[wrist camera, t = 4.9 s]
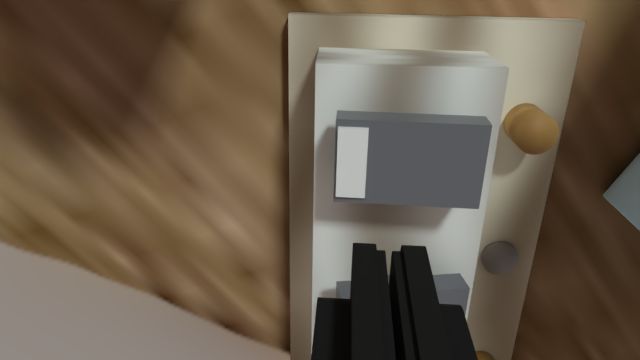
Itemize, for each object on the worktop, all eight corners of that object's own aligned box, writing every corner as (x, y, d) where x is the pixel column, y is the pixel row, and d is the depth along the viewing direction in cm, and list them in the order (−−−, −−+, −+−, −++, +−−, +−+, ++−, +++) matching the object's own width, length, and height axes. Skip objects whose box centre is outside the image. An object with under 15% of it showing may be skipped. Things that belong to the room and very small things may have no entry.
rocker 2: (455, 266, 25) (471, 289, 23) (446, 324, 26) (460, 351, 25) (334, 274, 24) (341, 299, 22) (332, 334, 26) (338, 362, 24)
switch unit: (576, 18, 25) (630, 33, 20) (493, 409, 35) (516, 476, 31) (290, 11, 25) (278, 25, 21) (292, 400, 36) (285, 465, 31)
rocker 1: (482, 111, 21) (493, 126, 19) (470, 190, 23) (479, 210, 21) (337, 106, 22) (335, 119, 20) (335, 183, 23) (332, 203, 21)
